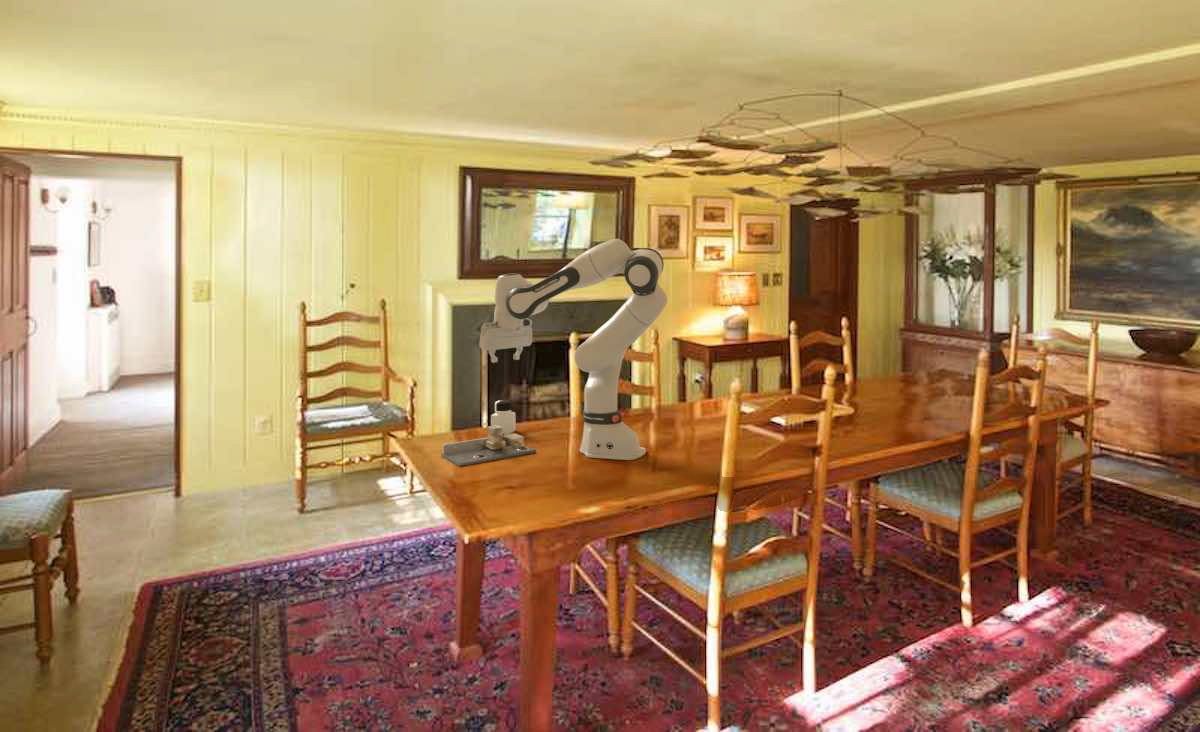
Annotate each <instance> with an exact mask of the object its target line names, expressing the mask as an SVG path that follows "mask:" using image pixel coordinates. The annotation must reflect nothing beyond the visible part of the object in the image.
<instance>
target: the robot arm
mask: <svg viewBox="0 0 1200 732" xmlns="http://www.w3.org/2000/svg"><path fill="white" fill-rule="evenodd" d="M664 266H665V265H664V259H663V257H662V255H661V253H660V252H658V251H657V250H655V249H653V248H649V247H632V248H631V249H630V247H629V245H627V243H626V242H625V241H623V240H622V239H621V238H613V239H610V240H607V241H604V242H601V243H599V244H597V245H594V246H593V247H591V248H589V249H587V250H586V251H584V252H582V253H581V254H579V255H578V256H577V257H575V258H574V259H573V260H571V261H570V262H569V263H568V264H567V265H565V266H564V267H563V268H561V269H560V270H558V271H557V272H555V273H553V274H552V275H550V276H548V277H546V278H543V280H541V281H539V282H537V283H532V282H530V281H528V280H527V279H525V278H524V277H523V276H522V275H521V274H520V273H518V272H516V273H515V272H512V273H504V274H500V275H499V276H498V277H497V279H496V281H495V282H496V283H495V291H494V302H495V306H494V311H493V312H494V313H493V321H491V322H489V321H488V322H485V323H484V324H483V325H481V329H480V337H479V345H478V346H479V348H480V349H481V350H483V351H488V352H487V353H488V354H489V356H490V362H491V363H493V364H495V363H498V361H499V359H498V357H497V356H496V355H495V354H496V351H498V350H504V349H507V350H508V349H514V348H515V349H516V351H515V353H513V354H512V355H513V356H512V357H513V360H515V361H519V360H520V359H521V358H520V357H521V356H520V355H522V352H523V350H524V347H530V346H531V345H532V343H533V329H532V325H533V320H532V319H530V318H529V317H531V316H534V315H537V314H540V313H541V312H543V311H545V310H546V309H547V308H548V306H549V304H550V300H551V299H552V298H554V297H557V296H558V295H560V294H562V293H565V292H568V291H572V290H577V289H578V290H579V289H583V288H587V287H591V286H594V285H597V284H600V283H602V282H604V281H606V280H607V279H610V278H611V277H613V276H615V275H619V274H623V276H624V280H625V281H626V283H627V285H628V286H629V287H630V289H631V291H632V292H633V293H632V294H631V295H630V297H629V298H628V299H627V300H626V301H625V302H624V303H623V304H622V306H621V307H620V308H619V309H618V310H617V311H616V312H615V313H613V315H612V316H611V317H610V318H609V319H608V320H607V321H606V322H605V323H604V324H602V325H601V326H600V327H599V328H598V329H596V331H594V332H593V333H592V334H591V335H590V336H589V337H588V338H587V339H586V340H585V341H584V342H582V343H581V344H580V345H579V346H578V347H577V348H576V350H575V352H574V358H573V359H574V362H575V365H576V366H577V367H578V369H580V370H581V371H582V372H585V373H588V377H587V381H586V383H585V385H584V393H583V394H584V400H583V402H584V409H583V411H582V412H583V413H582V414H583V415H582V424H583V433H582V440H581V444H580V447H579V452H580V453H582V454H584V455H585V457H586V458H592V459H593V458H594V459H605V460H607V459H609V460H619V461H621V460H622V461H632V460H637V459H639V458H641V457H643V456H645V454H646V453H647V450H646V447H643V446H640V439H639V436H638V433H636V432H635V431H634V430H633V429H631V427H629V426H628V425H626V423H624V422H623V417H624V416H625V415H624V414H625V412H620V411H619V410H618V384H619V379H620V375H621V369H622V364H623V360H624V357H625V356H626V351H627V350H626V349H628V348H629V347H631V346H632V345H633V344H634V343H635V342H636V341H637V340H638V339H639V338H640V337H641V336H642V335H643V334H644V333H645V331H646V330H648V328H649V327H650V326H651V325H652V324H653V323H654V322H655V321H656V319H657V318H658V317H659V316H660V315H661V313H662V311H663V310H664V308H665V307H666V305H667V303H668V295H667V294H666V292H665V290H664V289H663V288H662V287H661V286H660V285H659V279H660V277H661V274H662V272H663V270H664Z"/></svg>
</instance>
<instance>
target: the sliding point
mask: <svg viewBox="0 0 1200 732" xmlns="http://www.w3.org/2000/svg"><path fill="white" fill-rule="evenodd" d="M487 437H488V441H486V447H488V448H490V449H492V450H494V449H500V448H503V451H506V446H505V441H503V430H502V427H500V426H498V425H495V426H491V425H488V426H487Z"/></svg>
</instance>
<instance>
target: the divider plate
mask: <svg viewBox="0 0 1200 732" xmlns="http://www.w3.org/2000/svg"><path fill="white" fill-rule="evenodd" d="M486 441H488V436H487V437H480V438H475V439H469V440H463V441H457V442H451V443H449V442H448V443H444V444H442V445H441V446H442V453H440V454H441V455H440V457H442V458H444V459H445V460H446V461H449V462H450V463H452V464H454V465H455V466H457V465H458V467H464V466H463V465H465V466H468V465H469V466H470V465H475V463H476V464H480V463H486V462H492V461H498V460H503V458H504V459H508V458H513V457H514V456H515V457H519V456H526V455H530V454H536V453H537V451H536V449H534V448H532V447H531V446H528V445H525V442H524V436H523V435H520V434H517V433H516V432H512V433H511V434H505V435H503V441H505V446H506V451H503V448H500V449H494V450H492V449H490V448H488V447H486ZM497 459H498V460H497Z"/></svg>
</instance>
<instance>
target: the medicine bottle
mask: <svg viewBox="0 0 1200 732" xmlns="http://www.w3.org/2000/svg"><path fill="white" fill-rule="evenodd" d="M495 425H498V426H500V427H502V430H503V434H510V433H515V432H516V430H517V429H516V428H517V426H516V411H515V412H514V411H512V402H511V401H510V400H508V399H501V400H497V401H495V402H494V413H493V414H491V415H490V426H495Z"/></svg>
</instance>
